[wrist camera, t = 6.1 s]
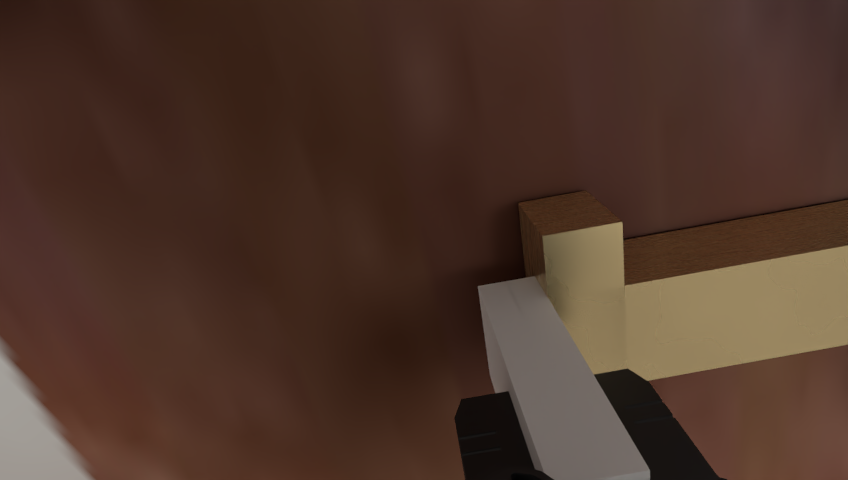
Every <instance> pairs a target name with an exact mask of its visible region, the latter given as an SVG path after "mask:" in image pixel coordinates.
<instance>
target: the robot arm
mask: <svg viewBox="0 0 848 480" xmlns="http://www.w3.org/2000/svg"><path fill="white" fill-rule="evenodd" d="M478 292H479V299H480V307H481V314H482V321H483V329H484V336H485V343H486V351H487V358H488V366H489V373H490V377H491V380H492V384H493V387H494V390H495V394H489V395H484V396H478V397H472V398H466V399H461V402H460V405H459V407H458V410H457V413H456V415H455V423H456V429H457V435H458V441H459V446H460V452H461V458H462V464H463V470H464V476H465V480H727V479H723V478H719V477H718V476H717V474H716V473H715V472H714V471H713V469H712V468H711V467H710V465H709V464H708V462H707V461H706V460H705V458H704V457H703V456H702V454H701V453H700V451H699V450H698V449H697V447H696V446H695V445H694V443H693V442H692V440H691V439H690V438H689V436H688V435H687V434H686V432H685V431H684V430H683V428H682V427H681V425H680V424H679V423H678V421H677V420H676V419H675V418H673V416H672V413H671V412H670V410H669V409H668V408H667V406H666V405H665V403H662V399H661V398H660V397H659V395H658V394H657V393H656V391H655V390H654V388H653V387H652V386H651V384H650V383H649V382H648V381H647V380H645V379H643V378H642V377H640V376H639V375H637V374H636V373H634V372H633V371H631V370H629V369H622V370H617V371H611V372H605V373H599V374H594V375H593V373H592V371H591V369H590V368H589V366H588V364H587V363H586V361H585V359H584V358H583V356H582V354H581V353H580V351H579V349H578V347H577V346H576V344H575V342H574V341H573V339H572V337H571V336H570V334H569V332H568V331H567V329H566V327H565V325H564V324H563V322H562V320H561V319H560V317H559V315H558V314H557V312H556V310H555V309H554V307H553V305H552V303H551V302H550V300H549V298H547V296H546V294H545V292H544V291H543V289H542V287H541V286H540V284H539V282H538V281H537V279H536V277H535V276H533V277H527V278H521V279H516V280H510V281H504V282H498V283H493V284H487V285H481V286H478Z"/></svg>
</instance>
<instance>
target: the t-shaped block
mask: <svg viewBox="0 0 848 480" xmlns="http://www.w3.org/2000/svg"><path fill="white" fill-rule="evenodd" d="M518 208H519V218H520V227H521V237H522V246H523V255H524V265H525V274H526V278H527V277H533V276H535V277H536V279H537V281H538V282H539V284H540V286H541V287H542V289H543V291H544V292H545V294H546V296H547V298H549V300H550V302H551V303H552V305H553V307H554V309H555V310H556V312H557V314H558V315H559V317H560V319H561V320H562V322H563V324H564V325H565V327H566V329H567V331H568V332H569V334H570V336H571V337H572V339H573V341H574V342H575V344H576V346H577V347H578V349H579V351H580V353H581V354H582V356H583V358H584V359H585V361H586V363H587V364H588V366H589V368H590V369H591V371H592V373H593V375H594V374H599V373H605V372H611V371H617V370H622V369H629V370H631V371H633V372H634V373H636V374H637V375H639V376H640V377H642V378H643V379H645V380H647V381H648V380H654V379H659V378H665V377H671V376H676V375H682V374H687V373H693V372H698V371H704V370H709V369H715V368H720V367H726V366H731V365H737V364H742V363H748V362H754V361H759V360H765V359H770V358H776V357H781V356H787V355H792V354H798V353H803V352H809V351H814V350H820V349H825V348H831V347H837V346H842V345H848V200H844V201H839V202H833V203H828V204H822V205H816V206H811V207H805V208H800V209H794V210H789V211H783V212H777V213H772V214H766V215H761V216H755V217H750V218H744V219H738V220H733V221H727V222H722V223H716V224H711V225H705V226H699V227H694V228H688V229H683V230H677V231H672V232H666V233H660V234H655V235H649V236H644V237H638V238H633V239H627V240H623V222H622V221H621V220H620V219H619V218H617V217H616V216H615V215H614V214H613V213H612V212H610V211H609V210H608V209H607V208H606V207H605V206H603V205H602V204H601V203H600V202H599V201H597V200H596V199H595V198H594V197H593V196H592V195H590V194H589V193H588V192H587V191H581V192H575V193H570V194H564V195H558V196H553V197H547V198H542V199H536V200H530V201H525V202H519V203H518Z"/></svg>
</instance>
